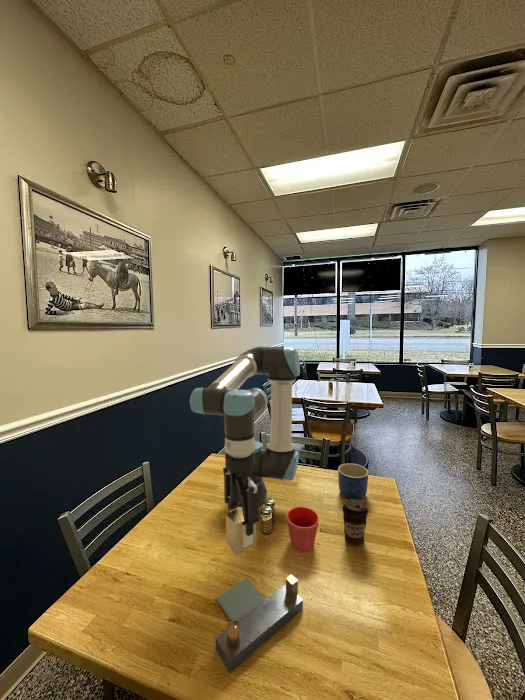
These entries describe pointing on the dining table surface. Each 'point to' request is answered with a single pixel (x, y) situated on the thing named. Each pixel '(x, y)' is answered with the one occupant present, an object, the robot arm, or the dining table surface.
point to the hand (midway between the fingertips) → (241, 538)
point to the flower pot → (302, 528)
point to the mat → (240, 599)
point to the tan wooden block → (237, 531)
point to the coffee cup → (354, 522)
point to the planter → (353, 481)
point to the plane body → (258, 625)
